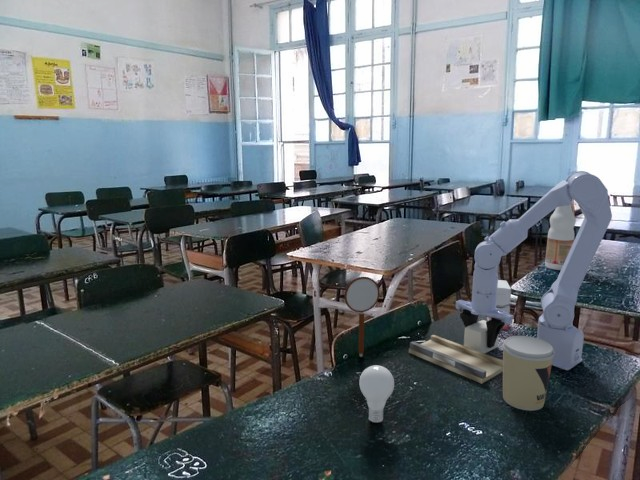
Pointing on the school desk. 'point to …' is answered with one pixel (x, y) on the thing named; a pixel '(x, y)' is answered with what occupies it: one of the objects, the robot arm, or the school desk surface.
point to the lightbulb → (376, 390)
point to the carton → (478, 337)
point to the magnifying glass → (361, 301)
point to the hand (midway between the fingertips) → (480, 343)
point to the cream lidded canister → (526, 371)
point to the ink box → (503, 298)
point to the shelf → (458, 358)
